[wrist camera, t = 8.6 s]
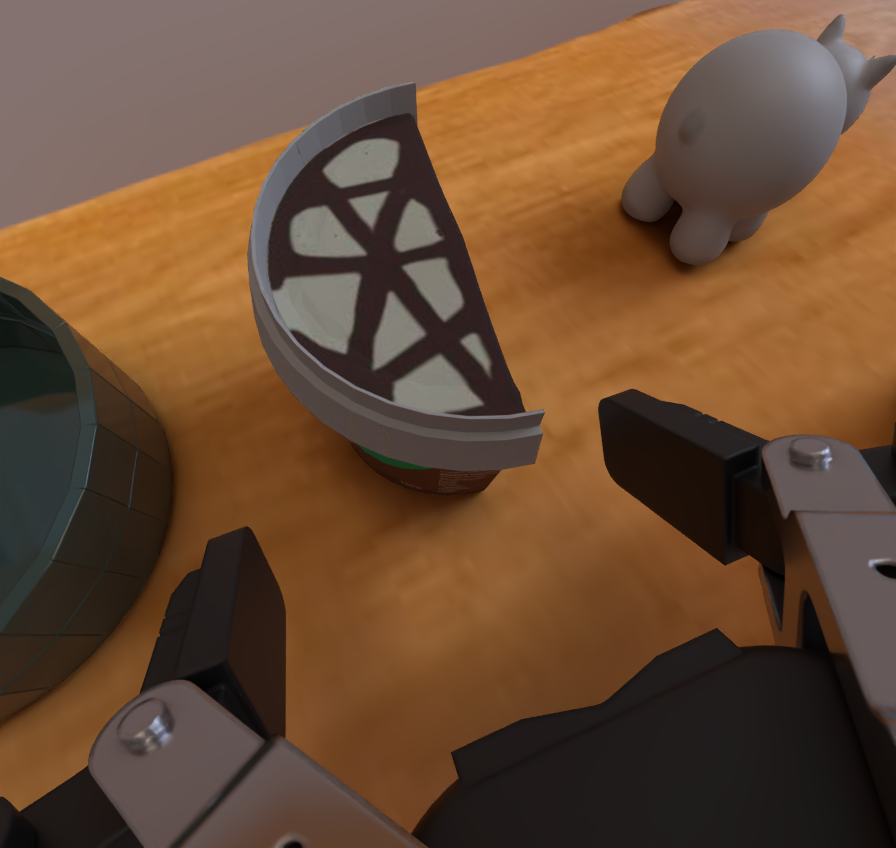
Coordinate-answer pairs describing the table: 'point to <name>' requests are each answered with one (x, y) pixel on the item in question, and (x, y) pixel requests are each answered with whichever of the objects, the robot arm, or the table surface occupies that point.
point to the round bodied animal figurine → (750, 133)
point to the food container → (383, 303)
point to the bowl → (69, 497)
